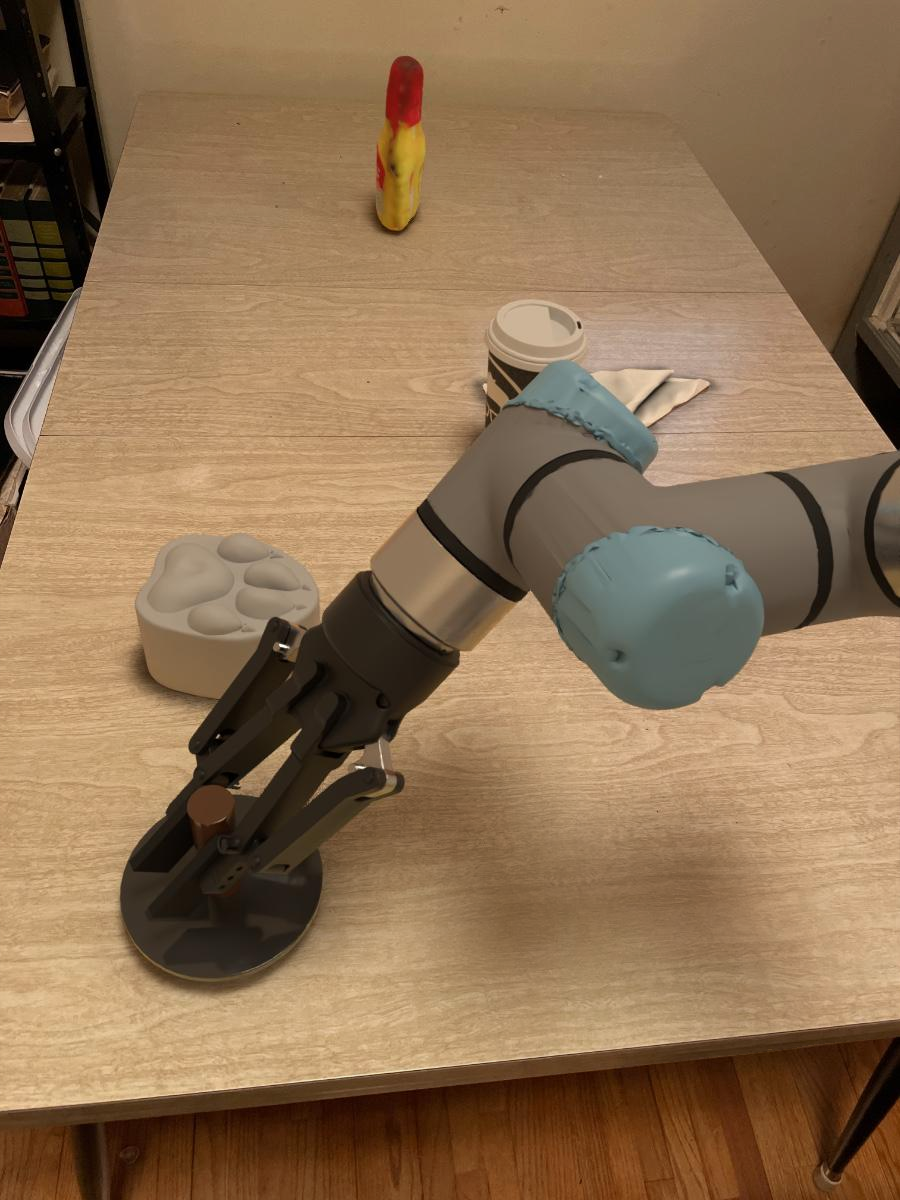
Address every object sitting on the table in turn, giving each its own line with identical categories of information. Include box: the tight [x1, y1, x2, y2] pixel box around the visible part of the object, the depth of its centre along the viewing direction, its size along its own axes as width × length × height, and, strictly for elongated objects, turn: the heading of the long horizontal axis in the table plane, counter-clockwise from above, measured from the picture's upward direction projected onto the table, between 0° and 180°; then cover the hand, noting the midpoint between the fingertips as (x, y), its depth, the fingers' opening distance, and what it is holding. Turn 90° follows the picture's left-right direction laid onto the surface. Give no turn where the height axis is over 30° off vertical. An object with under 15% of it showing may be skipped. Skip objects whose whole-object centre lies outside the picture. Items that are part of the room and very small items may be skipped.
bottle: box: [375, 55, 427, 232], centre depth 123 cm, size 12×6×20 cm, turn 173°
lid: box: [119, 785, 324, 983], centre depth 58 cm, size 13×13×10 cm
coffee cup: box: [483, 298, 589, 430], centre depth 92 cm, size 10×10×15 cm
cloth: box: [482, 368, 711, 428], centre depth 104 cm, size 26×14×2 cm, turn 90°
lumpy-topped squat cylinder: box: [134, 532, 321, 700], centre depth 74 cm, size 10×13×9 cm
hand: (158, 889), depth 58 cm, fingers closed on lid, 3 cm apart
